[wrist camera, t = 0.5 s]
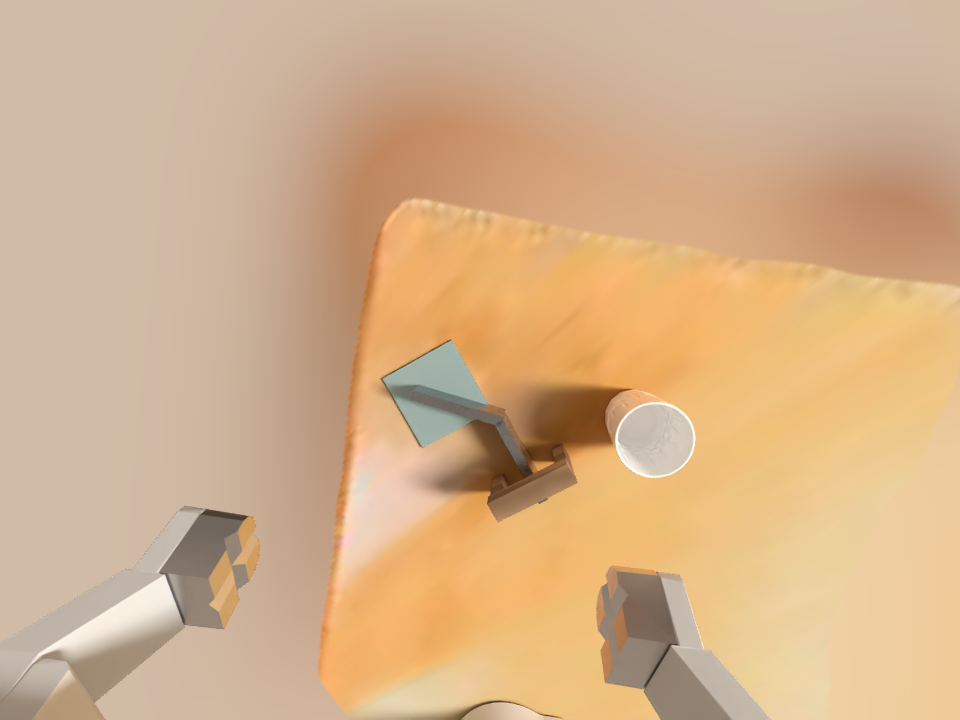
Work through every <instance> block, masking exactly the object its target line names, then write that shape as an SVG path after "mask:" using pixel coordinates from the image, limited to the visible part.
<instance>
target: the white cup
mask: <svg viewBox="0 0 960 720" xmlns="http://www.w3.org/2000/svg"><path fill="white" fill-rule="evenodd" d="M605 423H606V426H607V428H608V432H609V435H610V438H611V441H612V443H613V445H614V447H615V449H616V452H617V454H618V456H619V458H620V460H621V461H622V463H623V464H624V465H625V466H626V467H627V468H628V469H629V470H631V471H632V472H634V473H636V474H638V475H641V476H644V477H650V478H658V477H664V476H668V475H670V474H673V473H675V472H676V471H678V470H679V469H681V468H682V467H683V466H684V465H685V464H686V463H687V461H688V460H689V458H690V457H691V455H692V453H693V450H694V446H695V433H694V429H693V426H692V423H691V422H690V420H689V418H688V417H687V416H686V415H685V414H684V413H683V412H682V411H681V410H680V409H678V408H677V407H675V406H673V405H671V404H670V403H668V402H666V401H664V400H663V399H661V398H659V397H657V396H655V395H652V394H650V393H648V392H646V391H641V390H636V389H631V390H627V391H623V392H620V393H619V394H618V395H616V396H615V397H614V398H613V399H611V401H610V403H609V405H608V407H607V409H606V411H605Z"/></svg>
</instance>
